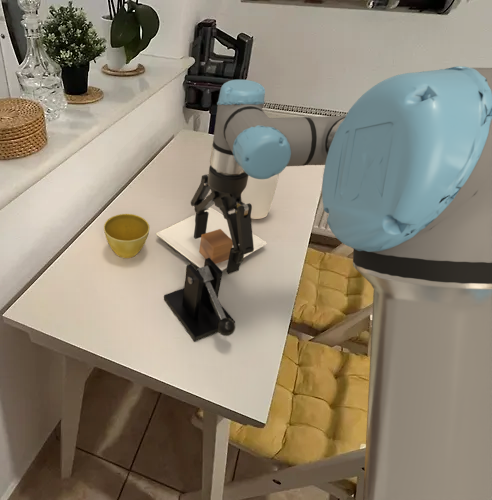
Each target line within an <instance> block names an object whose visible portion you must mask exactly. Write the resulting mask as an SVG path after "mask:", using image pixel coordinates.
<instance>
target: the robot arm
mask: <svg viewBox="0 0 492 500" xmlns="http://www.w3.org/2000/svg"><path fill="white" fill-rule="evenodd" d="M265 97H266V88H265V87H264V85H263V84H261V83H259V82H257V81H254V80H250V79H231V80H228V81H225V82H224V83H223V84H222V85H221V87H220V90H219V94H218V99H217V102H216V106H217V107H216V108H217V109H216V116H215V124H214V130H213V131H214V132H213V140H212V145H211V150H210V157H209V158H210V159H209V167H208V168H209V169H208V173H206V174H203V175H201V179H200V184H199V185H198V187H197V189H196V191H195V193H194V195H193V197H192V198H191V200H190V205H191V207H194V212H195V214H196V216H195V231H194V238H195V239H197V238H201V235H202V234H205V233H206V228H207V221H208V214H209V213H208V212H207V211H206V212H204V211H205V210H208V208H210V207H212V206H215V207H217V208H218V209H219V210H220V212H222V214H223V216H224V218H225V219H226V220H227V223H228V227H229V231H230V235H231V239H232V243H233V248H231V249H230V255H229V260H228V265H227V268H226V269H225V273H226V274H227V275H230V274H232V273H235V272H238V271H239V270H240V266H241V263H242V262H243V261H244V258H245V257H244V254H247V253H250V252H253V251H254V246H253V235H252V233H253V227H252V218H251V210H252V205H251V204H250V203H249V204H244V203H243V202H242V200H241V193H242V192H243V190H244V189H245V188H246V186H247V181H248V176H250V177H252V178H255V179H268V178H270V177H272V176H274V175H277V174H279V175H280V174H281V173H282V172H284V170H285V169H286V167H305V166H324V168H323V173H322V183H321V184H322V185H321V198H322V206H323V207H322V208H323V211H324V212H325V213H326V214H328V216H327V219H326V223H327V225H328V227H329V229H330V231H331V233H332V234H333V235H334V237H335V238H336V239H337V240H338V241H339V242H341V244H343V245H345V246H346V247H349V248H351V249H353V251H352V253H353V254H352V267H353V268H355V270H356V271H357V272H358V273H359V274H360V275H361V276H362V277H363V278H364V279H365V280H366V281H367V282H368V283H369V284H370V285H371V287H372V288H373V291H372V292H373V296H372V311H371V312H372V316H371V334H370V335H371V336H370V354H369V375H368V393H367V413H366V415H367V416H366V430H365V431H366V433H365V435H366V436H365V452H364V453H365V454H364V474H363V493H362V500H492V67H469V66H465V65H463V66H461V65H460V66H459V65H456V66H451V67H447V68H439V69H433V70H425V71H424V70H423V71H417V72H416V71H415V72H405V73H400V74H397V75H393V76H391V77H388V78H386V79H383V80H382V81H380V82H378V83H376V84H374V85H373V86H372V87H371V88H368V90H366V91H365V92H364V93H363V94H362V95H361V96H360V97H359V98H358V99H357V100H356V101H355V102H354V103H353V104H352V106H350V108H349V110H348V112H347V113H346V114H345V115H331V116H330V115H329V116H326V115H325V116H294V117H293V116H291V117H269V116H268V115H267V113H266V112H265V111H264V110H263V106H264V104H265V102H266V101H265ZM233 211H234V212H233ZM230 212H232V213H230ZM254 252H255V251H254ZM254 252H253V253H254ZM243 257H244V258H243Z"/></svg>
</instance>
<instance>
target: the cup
mask: <svg viewBox="0 0 492 500" xmlns="http://www.w3.org/2000/svg"><path fill="white" fill-rule="evenodd" d="M279 175H280V173H279V174H277V175H274V176H272V177H270V178H268V179H255V178H252V177H250V176H248V181H247V186H246V188H245V189H244V190H243V192H242V193H241V200H242V202H243V203H244V204H249V203H250V204H251V205H252V210H251V219H253V220H256V219H258V220H259V219H264V218H265V217H267V216H268V215H269V213H270V210H271V206H272V203H273V200H274V197H275V193H276V189H277V186H278V182H279V181H278V180H279Z"/></svg>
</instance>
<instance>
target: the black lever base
mask: <svg viewBox="0 0 492 500" xmlns="http://www.w3.org/2000/svg"><path fill="white" fill-rule="evenodd" d="M207 265H208V267H209V269H210V271H211V274H212V276H213V278H214V279H213V280H212V281H211V285H212V287H213V289H214V291H215V294H216V296H217V298H218V299H219V294H220V289H221V283H222V277H223V274H224V273H223V272H224V271H221V270H220V269H219V267H218V266H217V265H216V264H215V263H214V262H213V261H212V260H211V259H210V258H207V259H205V263H204V266H207ZM203 281H204V278H203V277H202V276H201V275H200V274H199V272H198V271H197V268H196V267H194V264H193V263H189V264H187V265H186V268H185V277H184V284H183V288H180V289H177V290H174V291H172V292H169V293H166V294H164V295H163V300H164V302H165V303H166V304H167V306H168V307H169V308H170V310H171V311H172V312H173V314H174V316H175V317H176V318H177V319H178V321H179V322H180V324H181V325H182V327H183V328H184V329H185V331H186V332H187V333H188V335H189V336H190V338H191V339H192V340H193V342H197V341H200V340H202V339H205V338H208V337H210V336H212V335H215V334H217V333H219V332H218V330H217V323H218V322H219V319H218V317H217V315H216V312H215V310H214V308H213V306H212V303H211V301H210V299H209V296H208V294H207V292H206V290H205V287H204V285H203ZM220 305H221V307H222V309H223V312H224V314H225V316H226V318H229V319H231V320H232V321H233V322H234V324H235V323H236V321H235V320H234V318H233V317H232V316H231V315H230V314H229V312H228V310H226V309H225V308H224V306H223V305H222V304H221V303H220ZM235 325H236V324H235Z"/></svg>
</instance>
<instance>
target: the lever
mask: <svg viewBox="0 0 492 500" xmlns="http://www.w3.org/2000/svg"><path fill="white" fill-rule="evenodd" d="M196 270H197V271H198V272H199V274H200V275H201V276H202V277H203V278H204V281H203V285H204V287H205V290H206V292H207V294H208V296H209V299H210V301H211V303H212V306H213V308H214V310H215V312H216V315H217V317H218V319H219V322H218V323H217V330H218V332H217V333H219V335H222V336H225V337H229V336H231V335H233V334H234V332H235V331H236V324H234V322H233V321H232V320H231V319H229V318H226V316H225V314H224V312H223V309H222V307H223V306H222V304H221V303H220V301H219V297H218V298H217V296H216V294H215V291H214V289H213V287H212V285H211V281H212V280H213V279H214V278H213V276H212V274H211V271H210V269H209V267H208V265H207V266H204V267H201V268H199V267H197V268H196ZM220 304H221V305H220ZM221 306H222V307H221Z"/></svg>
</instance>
